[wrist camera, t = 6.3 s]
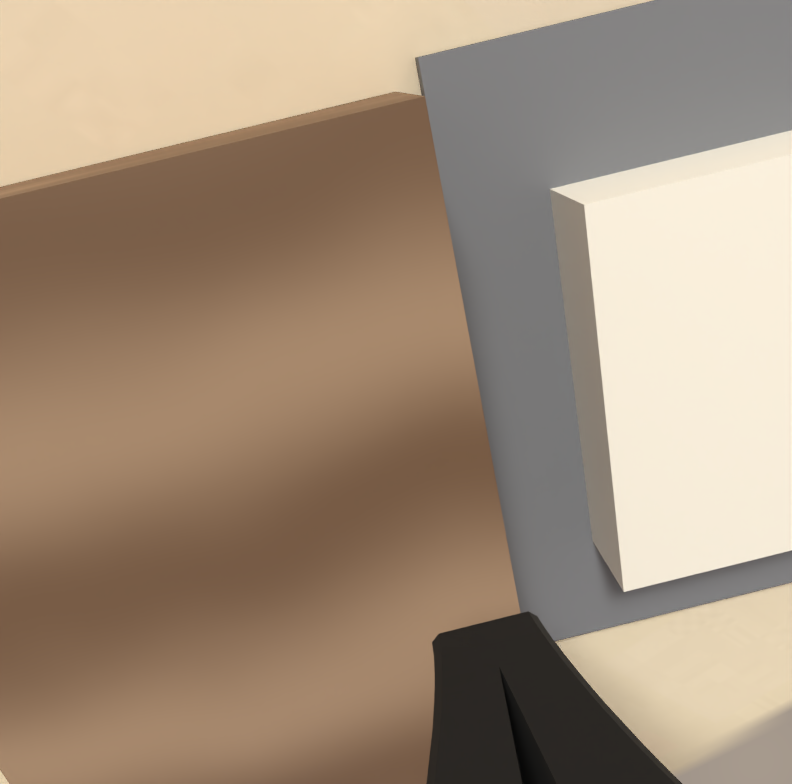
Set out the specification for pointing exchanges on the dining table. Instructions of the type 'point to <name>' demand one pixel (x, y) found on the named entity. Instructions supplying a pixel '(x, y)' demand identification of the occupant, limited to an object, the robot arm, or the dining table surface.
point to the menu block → (683, 357)
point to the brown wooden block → (239, 459)
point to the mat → (538, 258)
